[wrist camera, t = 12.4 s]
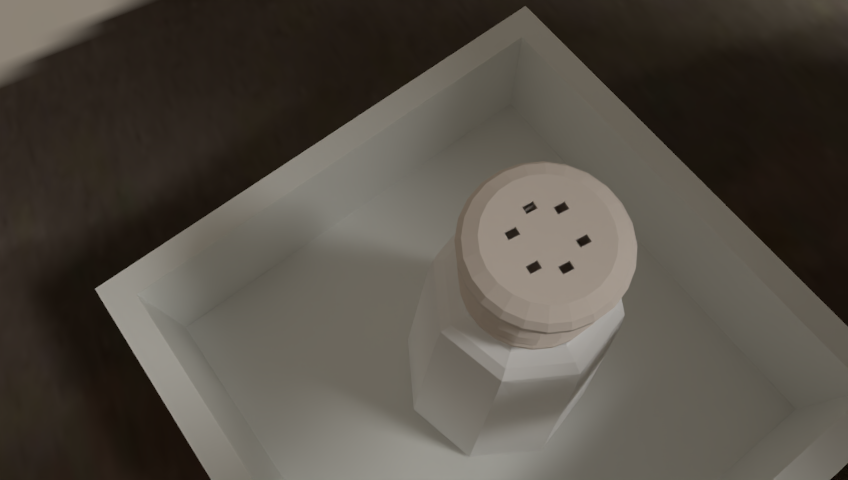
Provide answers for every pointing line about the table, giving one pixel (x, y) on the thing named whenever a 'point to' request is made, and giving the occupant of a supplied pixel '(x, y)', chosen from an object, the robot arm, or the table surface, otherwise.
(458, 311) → the pepper shaker
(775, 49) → the table surface
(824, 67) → the table surface
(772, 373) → the box
